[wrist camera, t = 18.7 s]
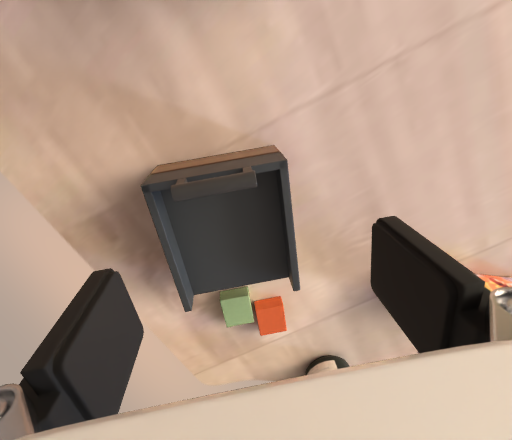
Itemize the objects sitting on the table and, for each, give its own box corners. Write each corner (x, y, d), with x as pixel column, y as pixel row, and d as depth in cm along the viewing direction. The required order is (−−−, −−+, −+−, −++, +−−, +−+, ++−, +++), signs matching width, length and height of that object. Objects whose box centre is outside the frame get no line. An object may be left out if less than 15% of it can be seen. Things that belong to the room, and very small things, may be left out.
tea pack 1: (226, 327, 41) (226, 317, 43) (254, 322, 41) (252, 312, 43) (219, 300, 39) (219, 291, 40) (248, 295, 39) (247, 286, 41)
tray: (147, 172, 28) (128, 195, 23) (280, 148, 29) (295, 166, 23) (188, 293, 36) (181, 335, 30) (293, 273, 36) (308, 310, 30)
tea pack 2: (260, 336, 42) (258, 325, 44) (286, 330, 42) (284, 321, 44) (255, 310, 40) (254, 301, 42) (283, 305, 40) (280, 296, 42)
